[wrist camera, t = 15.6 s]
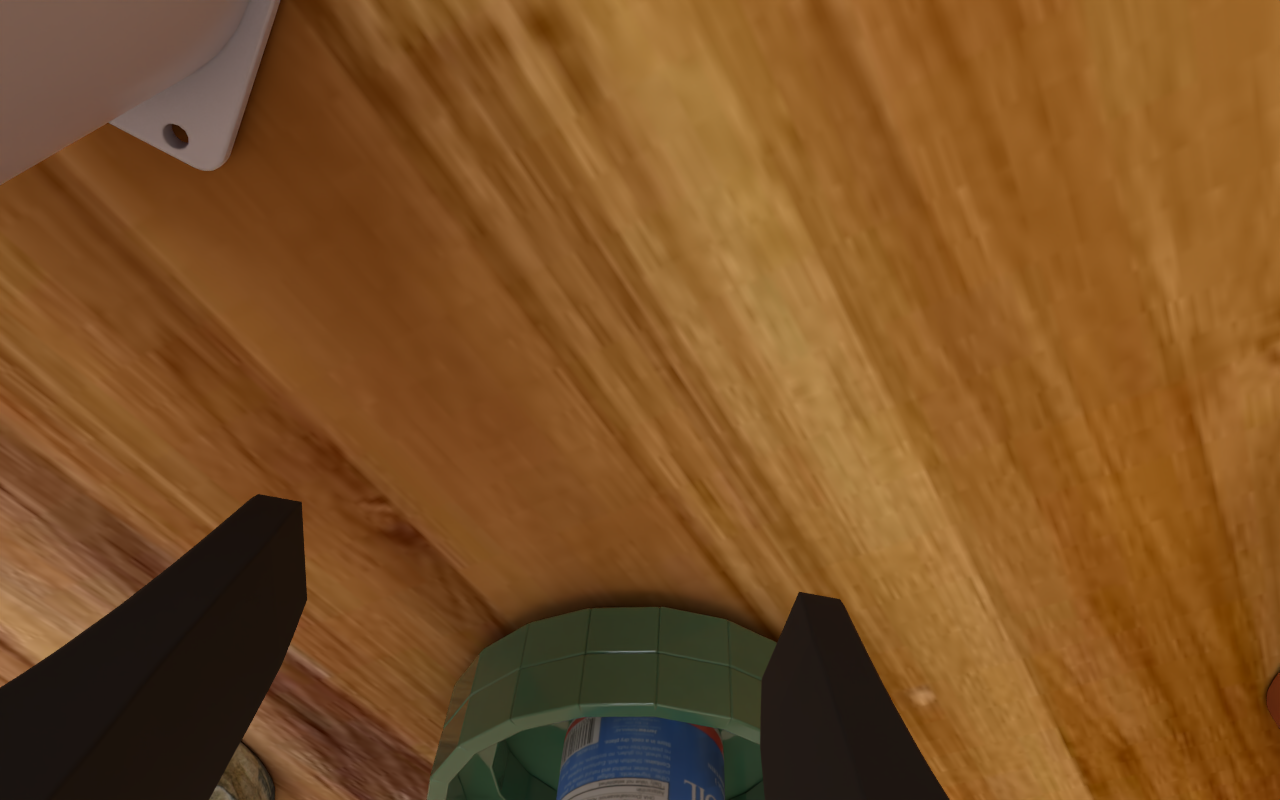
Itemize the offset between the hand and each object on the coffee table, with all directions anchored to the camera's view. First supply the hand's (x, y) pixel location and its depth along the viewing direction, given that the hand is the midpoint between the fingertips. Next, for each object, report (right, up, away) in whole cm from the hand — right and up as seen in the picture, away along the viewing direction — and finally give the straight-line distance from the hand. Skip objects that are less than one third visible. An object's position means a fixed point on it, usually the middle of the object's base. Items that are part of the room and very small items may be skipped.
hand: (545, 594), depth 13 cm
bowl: (+1, -8, +17) cm, 19 cm away
